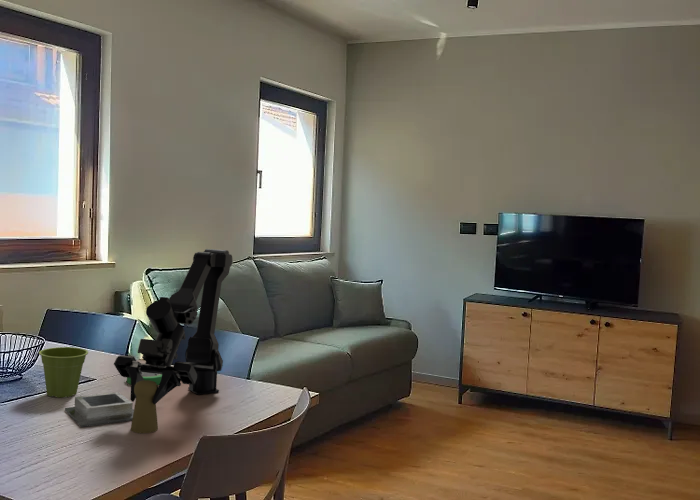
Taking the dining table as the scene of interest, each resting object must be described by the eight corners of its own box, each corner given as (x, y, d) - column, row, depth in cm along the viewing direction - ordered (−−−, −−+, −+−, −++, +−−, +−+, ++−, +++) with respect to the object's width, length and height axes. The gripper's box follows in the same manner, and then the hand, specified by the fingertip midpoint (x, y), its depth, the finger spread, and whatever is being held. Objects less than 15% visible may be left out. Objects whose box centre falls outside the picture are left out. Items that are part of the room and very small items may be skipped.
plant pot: (56, 403, 173) (58, 359, 172) (27, 394, 179) (29, 351, 178) (96, 394, 183) (98, 352, 182) (67, 385, 189) (69, 344, 188)
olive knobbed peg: (150, 434, 155) (152, 386, 154) (125, 431, 156) (127, 383, 155) (162, 426, 161) (164, 379, 160) (138, 423, 162) (140, 376, 161)
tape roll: (119, 381, 198) (119, 371, 198) (152, 375, 206) (153, 366, 206) (140, 389, 191) (141, 379, 191) (174, 383, 199) (175, 374, 199)
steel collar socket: (122, 403, 176) (123, 389, 176) (142, 418, 165) (142, 404, 165) (64, 410, 168) (65, 395, 168) (81, 427, 157) (81, 411, 157)
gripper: (119, 321, 162) (91, 378, 152) (194, 328, 159) (171, 388, 149) (134, 347, 171) (109, 404, 161) (206, 355, 167) (185, 413, 157)
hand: (142, 402), depth 157 cm, fingers closed on olive knobbed peg, 5 cm apart
